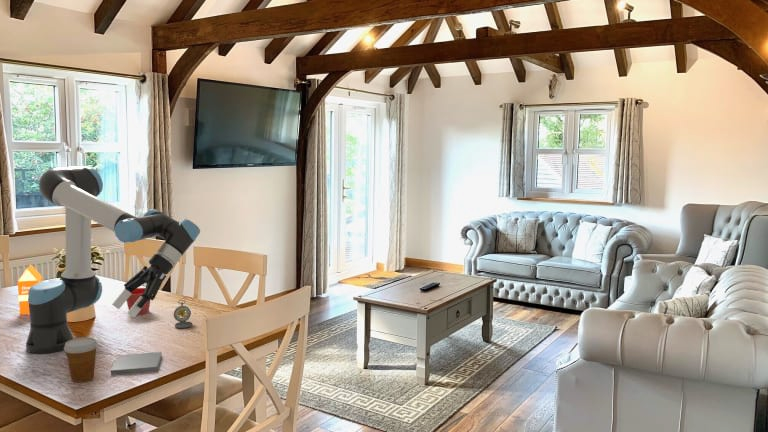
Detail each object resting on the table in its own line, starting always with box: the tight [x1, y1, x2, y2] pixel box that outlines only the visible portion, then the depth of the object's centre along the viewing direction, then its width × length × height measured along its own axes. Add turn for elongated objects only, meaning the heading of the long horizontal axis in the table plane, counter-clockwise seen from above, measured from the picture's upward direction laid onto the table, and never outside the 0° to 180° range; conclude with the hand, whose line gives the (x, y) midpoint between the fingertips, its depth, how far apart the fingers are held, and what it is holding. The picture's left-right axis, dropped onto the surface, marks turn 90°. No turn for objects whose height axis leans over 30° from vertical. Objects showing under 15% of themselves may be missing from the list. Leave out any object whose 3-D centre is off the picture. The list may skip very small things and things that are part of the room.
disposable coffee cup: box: [63, 337, 98, 383], centre depth 190 cm, size 10×10×12 cm
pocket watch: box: [173, 299, 193, 329], centre depth 244 cm, size 8×8×10 cm
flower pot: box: [125, 287, 151, 316], centre depth 261 cm, size 11×11×10 cm
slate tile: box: [110, 351, 162, 376], centre depth 202 cm, size 14×14×2 cm
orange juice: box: [17, 264, 43, 315], centre depth 261 cm, size 8×9×20 cm
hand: (122, 311), depth 198 cm, fingers open, 13 cm apart
